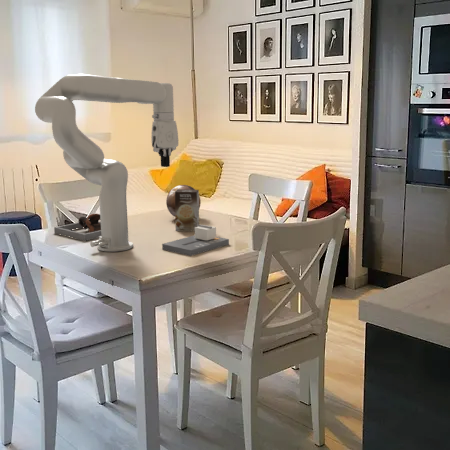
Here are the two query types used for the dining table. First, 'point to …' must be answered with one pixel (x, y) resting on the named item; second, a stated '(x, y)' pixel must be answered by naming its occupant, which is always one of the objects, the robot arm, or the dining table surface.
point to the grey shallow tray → (67, 231)
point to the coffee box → (186, 209)
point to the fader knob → (205, 232)
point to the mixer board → (194, 245)
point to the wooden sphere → (171, 198)
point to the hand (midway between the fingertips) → (165, 166)
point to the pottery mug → (90, 222)
